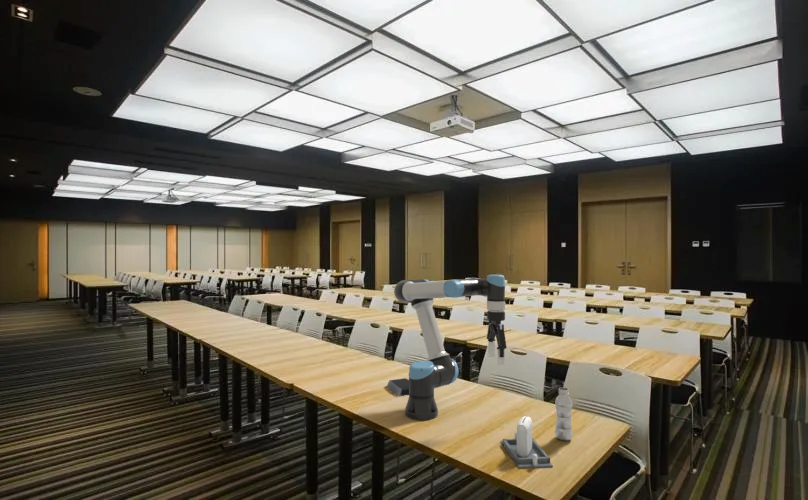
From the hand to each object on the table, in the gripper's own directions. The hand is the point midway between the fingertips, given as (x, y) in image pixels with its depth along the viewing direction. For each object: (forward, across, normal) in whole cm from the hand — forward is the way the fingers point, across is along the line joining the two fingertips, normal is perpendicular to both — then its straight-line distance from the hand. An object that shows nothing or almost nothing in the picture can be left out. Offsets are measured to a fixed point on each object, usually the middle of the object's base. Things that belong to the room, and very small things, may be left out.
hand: (496, 360), depth 175 cm
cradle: (+29, -23, -4) cm, 37 cm away
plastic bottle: (+29, -12, -24) cm, 39 cm away
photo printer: (+28, -22, -4) cm, 36 cm away
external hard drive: (+29, +54, +36) cm, 71 cm away
